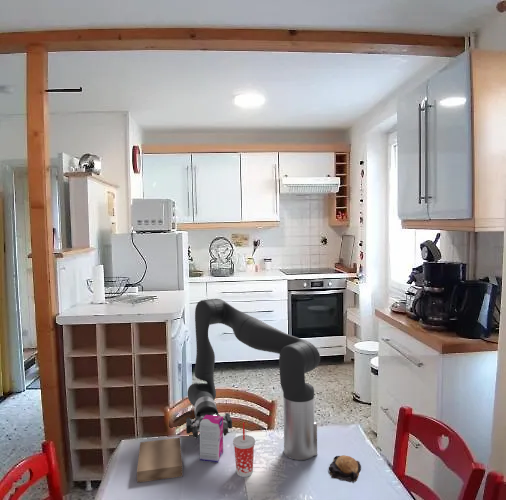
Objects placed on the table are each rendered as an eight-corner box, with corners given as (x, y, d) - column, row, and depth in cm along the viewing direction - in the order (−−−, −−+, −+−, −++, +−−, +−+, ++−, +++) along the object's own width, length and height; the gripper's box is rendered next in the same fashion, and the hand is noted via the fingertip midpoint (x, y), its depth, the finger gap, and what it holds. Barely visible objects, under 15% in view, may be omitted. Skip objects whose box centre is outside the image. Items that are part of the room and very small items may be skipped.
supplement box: (218, 463, 120) (217, 424, 120) (199, 461, 122) (198, 422, 121) (224, 452, 126) (223, 415, 126) (205, 450, 127) (204, 414, 127)
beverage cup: (251, 480, 112) (250, 429, 111) (230, 476, 114) (229, 426, 113) (258, 467, 118) (257, 419, 117) (238, 464, 120) (237, 416, 119)
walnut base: (180, 446, 130) (180, 437, 130) (182, 476, 114) (182, 465, 114) (140, 451, 127) (140, 442, 127) (137, 482, 112) (136, 471, 112)
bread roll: (332, 459, 123) (332, 446, 122) (362, 464, 120) (362, 451, 119) (326, 479, 113) (326, 466, 112) (358, 485, 110) (358, 471, 109)
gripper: (184, 402, 139) (186, 424, 123) (226, 398, 141) (234, 419, 126) (185, 424, 139) (187, 449, 123) (227, 419, 142) (235, 443, 126)
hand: (211, 434), depth 124 cm, fingers open, 8 cm apart
